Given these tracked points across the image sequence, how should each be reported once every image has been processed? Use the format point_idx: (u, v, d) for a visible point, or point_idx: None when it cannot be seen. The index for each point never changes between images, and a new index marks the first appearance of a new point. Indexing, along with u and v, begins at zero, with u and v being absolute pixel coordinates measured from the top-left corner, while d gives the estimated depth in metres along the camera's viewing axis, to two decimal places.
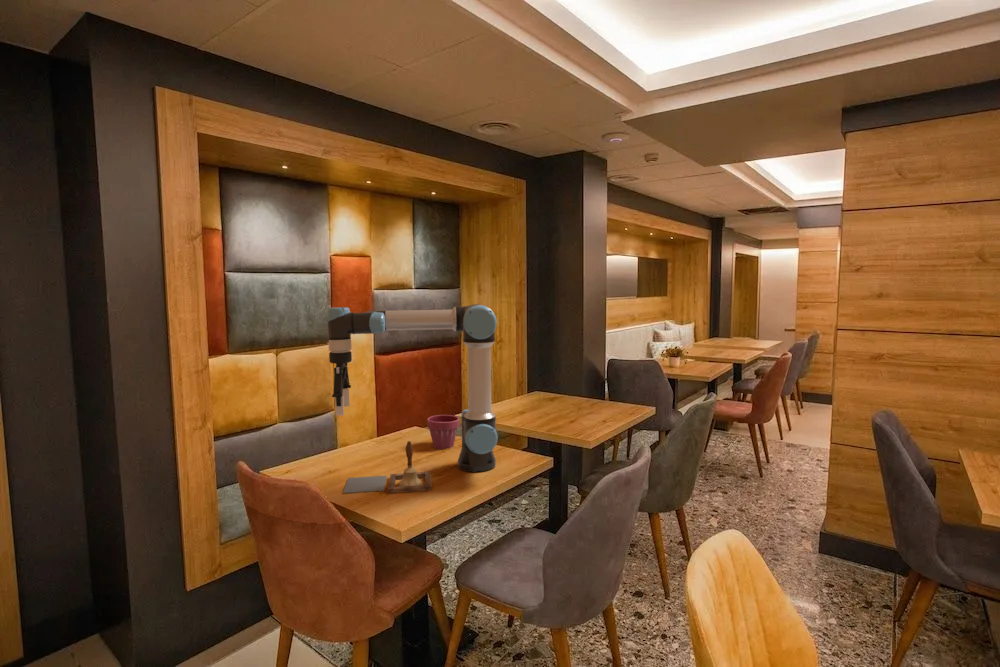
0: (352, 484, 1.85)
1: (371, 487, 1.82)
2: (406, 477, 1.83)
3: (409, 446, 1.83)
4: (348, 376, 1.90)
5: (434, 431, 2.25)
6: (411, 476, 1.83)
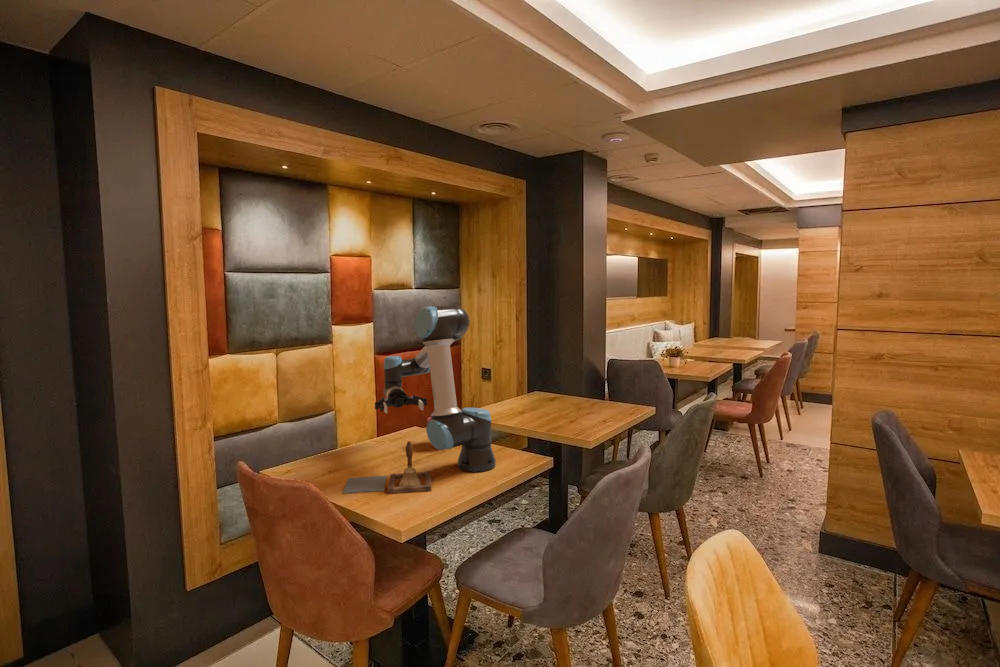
0: (352, 484, 1.85)
1: (371, 487, 1.82)
2: (406, 477, 1.83)
3: (409, 446, 1.83)
4: None
5: None
6: (411, 476, 1.83)
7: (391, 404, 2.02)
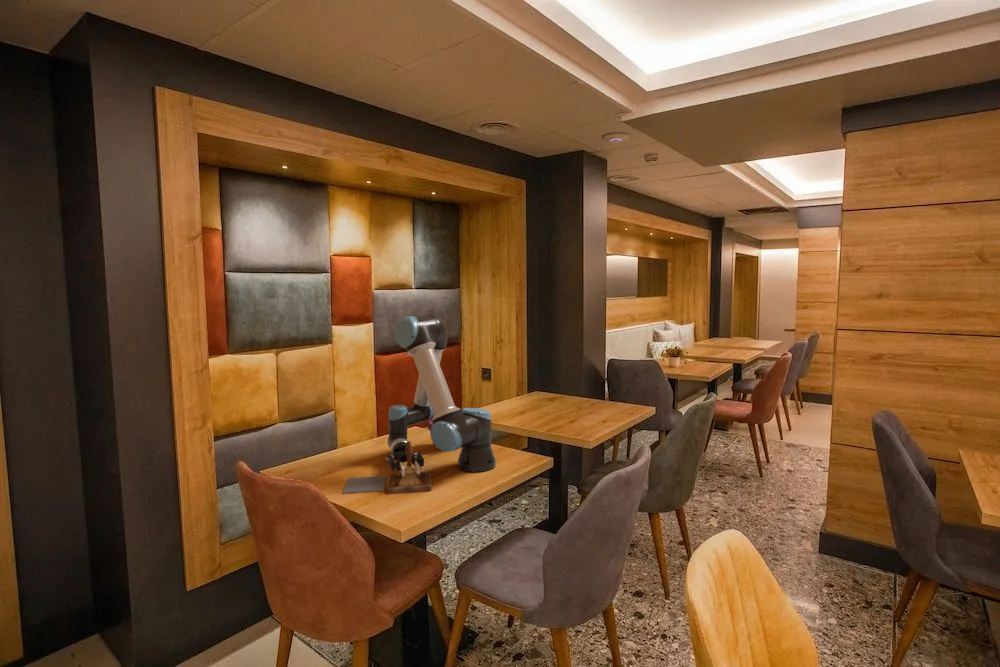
0: (352, 484, 1.85)
1: (371, 487, 1.82)
2: (405, 477, 1.83)
3: (408, 446, 1.83)
4: None
5: None
6: (411, 476, 1.83)
7: (401, 461, 1.92)
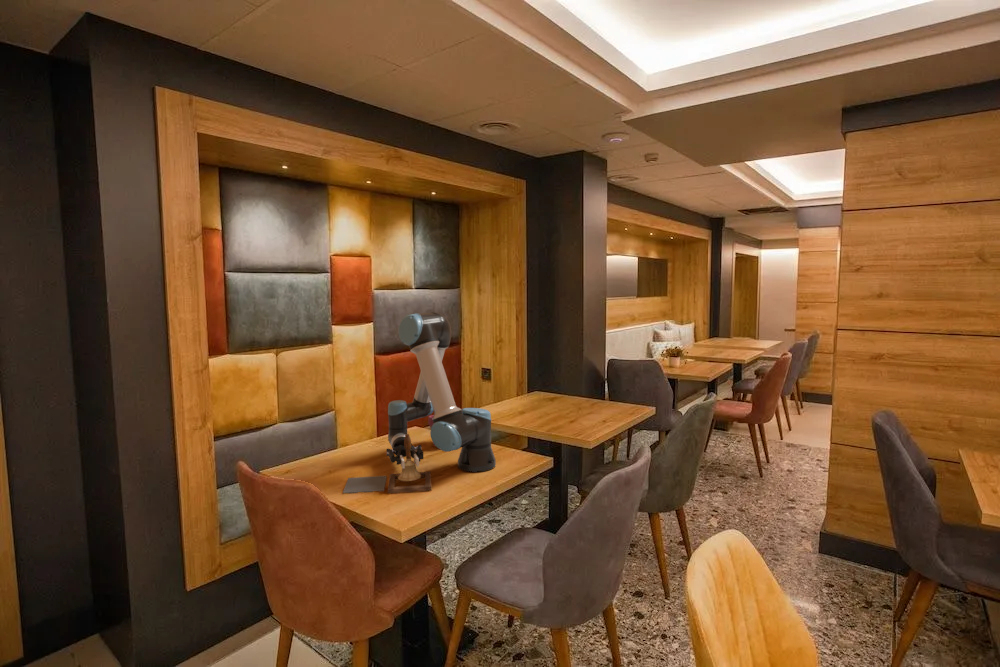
0: (352, 484, 1.85)
1: (371, 487, 1.82)
2: (405, 470, 1.83)
3: (407, 439, 1.83)
4: None
5: None
6: (410, 469, 1.83)
7: (401, 455, 1.92)
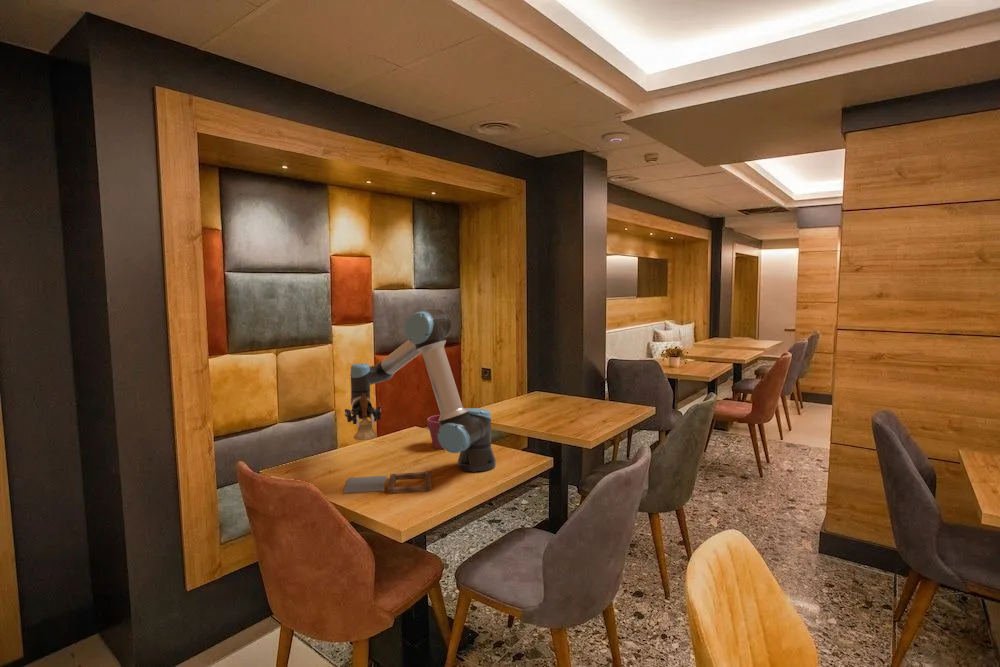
0: (352, 484, 1.85)
1: (371, 487, 1.82)
2: (360, 429, 1.81)
3: (363, 398, 1.81)
4: (380, 410, 1.90)
5: (436, 431, 2.24)
6: (365, 428, 1.81)
7: (359, 416, 1.90)
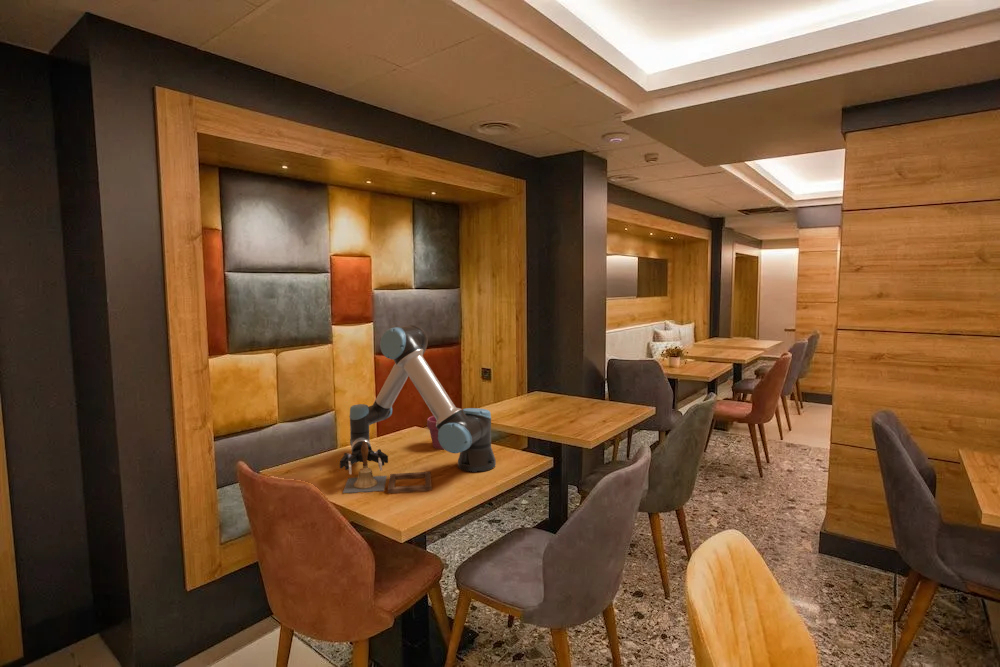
0: (352, 484, 1.85)
1: (371, 487, 1.82)
2: (361, 477, 1.82)
3: (364, 446, 1.82)
4: None
5: (436, 431, 2.24)
6: (366, 476, 1.82)
7: (356, 460, 1.91)
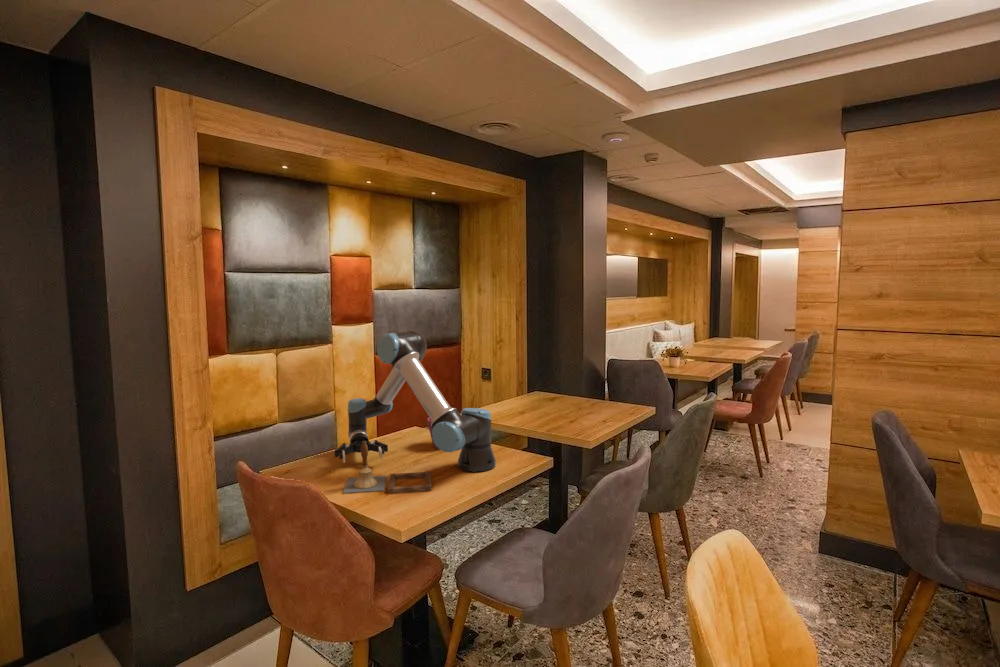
0: (352, 484, 1.85)
1: (371, 487, 1.82)
2: (361, 477, 1.82)
3: (364, 446, 1.82)
4: None
5: None
6: (366, 476, 1.82)
7: (352, 451, 2.03)
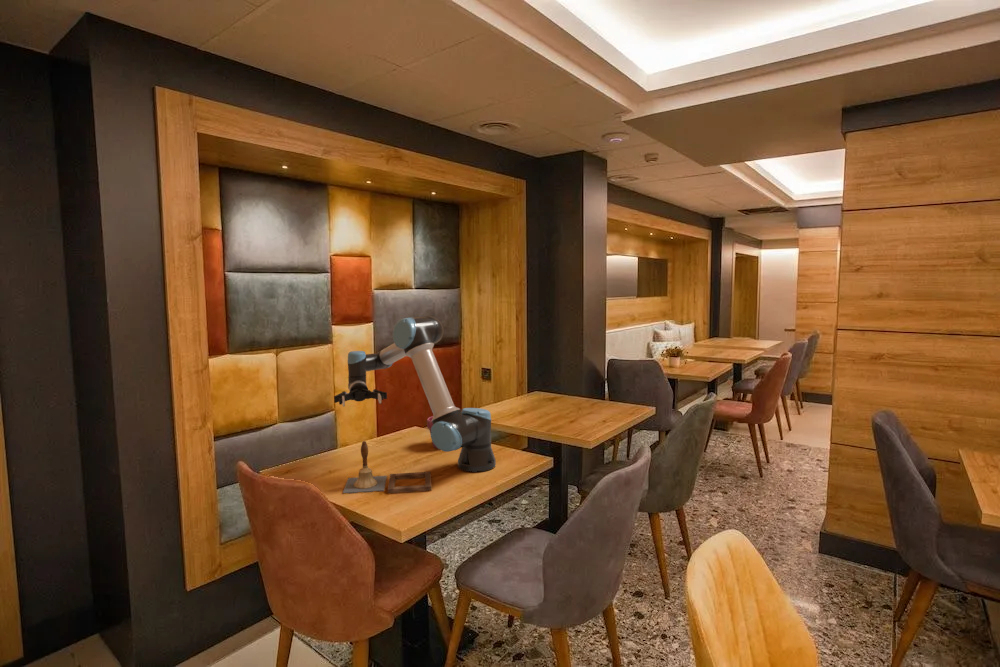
0: (352, 484, 1.85)
1: None
2: (361, 477, 1.82)
3: (364, 446, 1.82)
4: None
5: None
6: (366, 476, 1.82)
7: (351, 398, 2.05)
